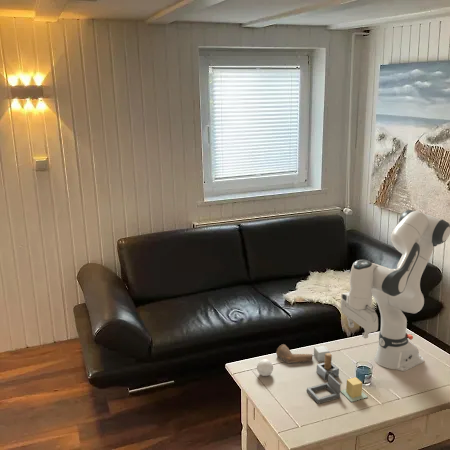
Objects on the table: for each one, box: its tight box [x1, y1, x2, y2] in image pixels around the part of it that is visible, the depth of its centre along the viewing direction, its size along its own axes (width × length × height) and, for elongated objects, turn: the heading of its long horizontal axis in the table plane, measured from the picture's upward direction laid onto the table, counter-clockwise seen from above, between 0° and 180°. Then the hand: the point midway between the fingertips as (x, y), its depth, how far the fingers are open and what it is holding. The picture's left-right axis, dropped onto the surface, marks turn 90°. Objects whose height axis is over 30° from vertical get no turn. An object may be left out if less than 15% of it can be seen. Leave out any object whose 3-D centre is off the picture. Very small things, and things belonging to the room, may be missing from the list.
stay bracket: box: [316, 361, 340, 381], centre depth 230 cm, size 7×7×4 cm
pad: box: [340, 388, 368, 403], centre depth 217 cm, size 8×8×1 cm
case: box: [306, 374, 342, 404], centre depth 216 cm, size 11×9×6 cm
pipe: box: [275, 343, 314, 364], centre depth 243 cm, size 6×17×10 cm
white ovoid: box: [252, 358, 274, 377], centre depth 230 cm, size 10×7×7 cm
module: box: [345, 377, 363, 398], centre depth 216 cm, size 4×4×6 cm
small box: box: [313, 345, 331, 363], centre depth 244 cm, size 6×6×5 cm
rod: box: [323, 353, 333, 370], centre depth 229 cm, size 3×3×10 cm
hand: (357, 332), depth 208 cm, fingers open, 8 cm apart
